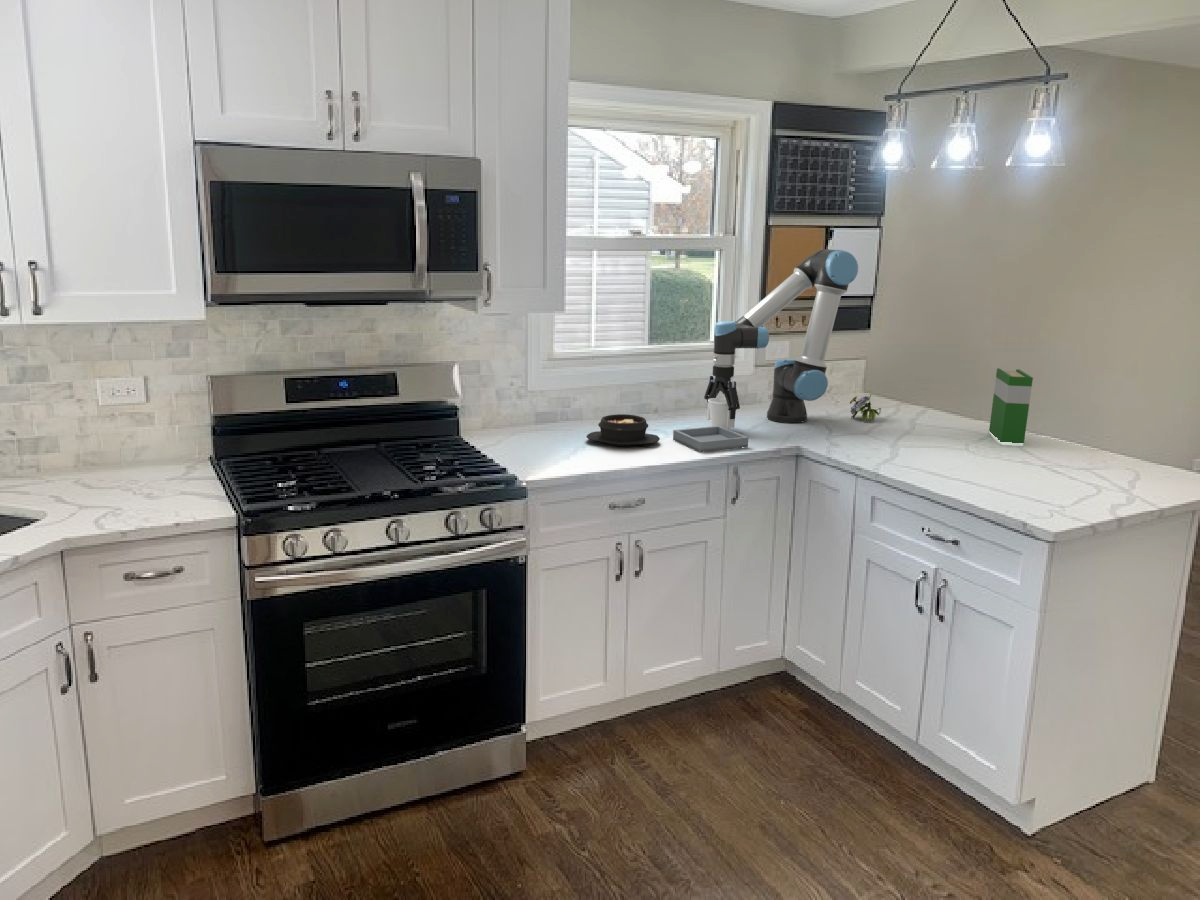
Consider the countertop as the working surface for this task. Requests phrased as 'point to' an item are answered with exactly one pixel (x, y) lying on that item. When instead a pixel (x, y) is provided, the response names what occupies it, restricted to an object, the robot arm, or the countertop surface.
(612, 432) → the casserole
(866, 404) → the passion flower
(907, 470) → the countertop surface
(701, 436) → the tray
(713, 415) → the cup
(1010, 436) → the hardback book
